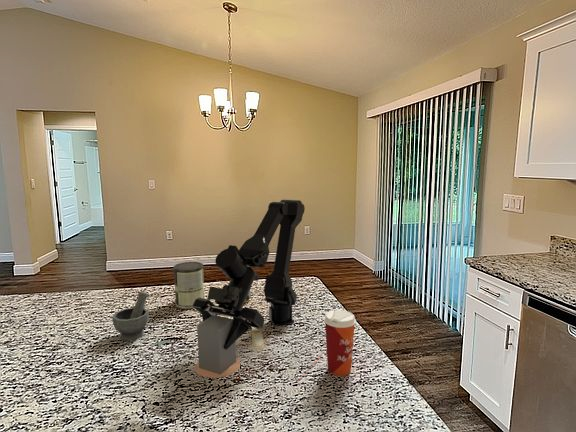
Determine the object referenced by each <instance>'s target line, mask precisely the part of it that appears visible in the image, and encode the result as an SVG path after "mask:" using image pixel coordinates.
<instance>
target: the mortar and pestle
mask: <svg viewBox="0 0 576 432" xmlns="http://www.w3.org/2000/svg"><path fill="white" fill-rule="evenodd" d="M137 295H138V296H137V299H136V301H135V304H134V307H129V308H128V307H127V308H124V309H121V310H119V311H117V312H115V313H114V314H113V316H112V318H111V319H112V324H113V327H114V328H115V330H116V331H117V332H118V333H120V339H121V340H122V341H125V342H126V341H127V342H131V341H136V340H139V339H140V338H142V337H144V333H145V332H144V329H145V328H146V326H147V324H148V322H149V319H150V318H149V317H150V314H149V313H150V312H149V311H150V310H148V308H146V307H145V304H146V300H147V298H148V297H149V294H148V293H147V292H144V291H140V292H138V294H137Z"/></svg>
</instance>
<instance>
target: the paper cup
mask: <svg viewBox="0 0 576 432" xmlns="http://www.w3.org/2000/svg"><path fill="white" fill-rule="evenodd" d="M323 322H324V323H325V343H326V361H327V371H328V372H329V374H331V375H333V376H337V377H344V376H348V375H349V374H350V373H351V371H352V362H353V352H354V351H353V350H354V337H355V327H356V323H357V319H356V318H355V315H354V314H353V313H352V312H350V311H348V310H342V309H341V310H339V309H335V310H329V311H328V312H327V313H325V316H324V318H323Z"/></svg>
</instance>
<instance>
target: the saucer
mask: <svg viewBox="0 0 576 432" xmlns="http://www.w3.org/2000/svg"><path fill="white" fill-rule="evenodd" d="M240 366H241V360H240V358H239V357H238V356H236V362H235V363H234V364H233V365H232V366H230V367H229V368H228V369H227V370H226V371H224V372H223V373H222V374H221V375H220V374H217V373H213V372H210V371H207V370H204V369H201V368H199V360H198V361H197V362H196V363H195V364H194V370H195V373H196V374H198V375H199V376H201V377H204V378H209V379H210V378H211V379H213V378H214V379H216V378H224V377H227V376H229V375H232V374H234V373H235V372H237V371H238V370H239V369H240Z"/></svg>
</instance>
